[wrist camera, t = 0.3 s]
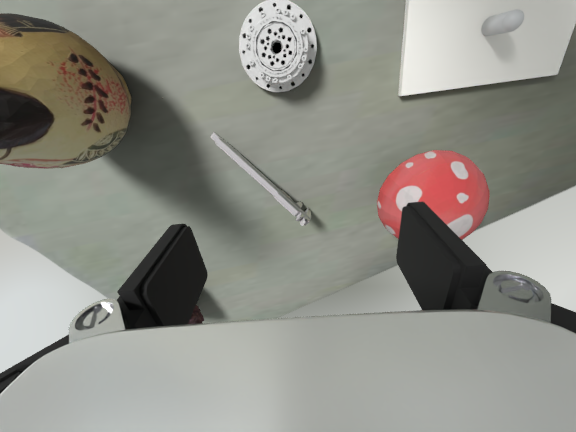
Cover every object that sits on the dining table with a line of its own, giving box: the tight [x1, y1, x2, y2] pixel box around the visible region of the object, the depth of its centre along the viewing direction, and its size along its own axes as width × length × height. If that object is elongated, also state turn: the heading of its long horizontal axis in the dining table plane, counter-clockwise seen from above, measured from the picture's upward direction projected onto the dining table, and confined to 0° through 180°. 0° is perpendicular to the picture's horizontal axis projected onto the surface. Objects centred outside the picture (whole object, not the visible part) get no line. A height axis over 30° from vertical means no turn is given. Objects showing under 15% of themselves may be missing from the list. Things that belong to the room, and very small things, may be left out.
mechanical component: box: [239, 0, 317, 92], centre depth 31 cm, size 10×4×10 cm
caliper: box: [211, 132, 311, 226], centre depth 39 cm, size 20×1×6 cm, turn 49°
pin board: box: [398, 0, 576, 96], centre depth 29 cm, size 13×20×6 cm, turn 97°
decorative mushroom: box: [377, 150, 489, 240], centre depth 35 cm, size 13×13×15 cm
